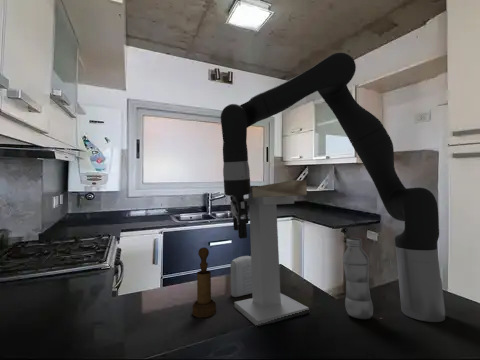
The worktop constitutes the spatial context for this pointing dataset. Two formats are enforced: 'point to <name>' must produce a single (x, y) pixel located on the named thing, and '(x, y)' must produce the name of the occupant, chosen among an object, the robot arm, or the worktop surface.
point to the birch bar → (279, 189)
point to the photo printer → (241, 276)
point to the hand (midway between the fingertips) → (240, 233)
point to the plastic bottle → (357, 280)
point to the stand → (266, 264)
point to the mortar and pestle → (204, 289)
